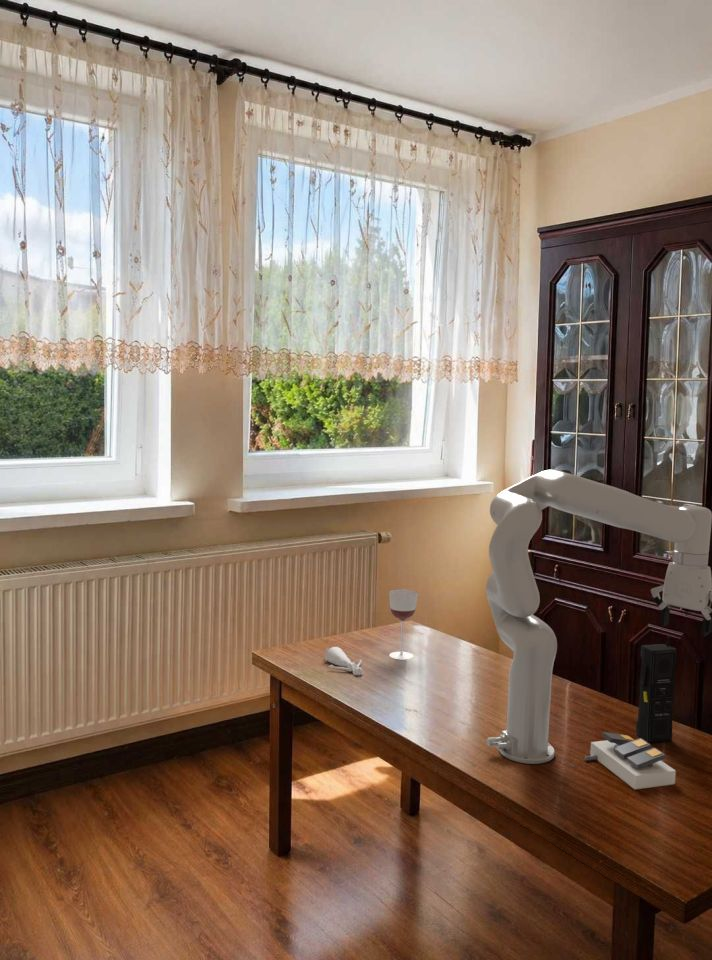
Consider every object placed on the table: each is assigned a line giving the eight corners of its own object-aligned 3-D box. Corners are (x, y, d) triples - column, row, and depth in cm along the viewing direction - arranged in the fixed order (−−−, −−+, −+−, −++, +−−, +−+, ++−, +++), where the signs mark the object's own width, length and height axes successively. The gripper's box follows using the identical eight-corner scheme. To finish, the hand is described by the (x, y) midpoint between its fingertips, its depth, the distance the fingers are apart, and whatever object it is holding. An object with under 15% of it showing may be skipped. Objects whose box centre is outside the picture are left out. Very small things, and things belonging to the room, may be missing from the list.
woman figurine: (346, 641, 258) (378, 662, 243) (345, 655, 259) (377, 677, 244) (313, 647, 252) (343, 669, 237) (312, 661, 252) (343, 683, 237)
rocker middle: (624, 762, 183) (623, 754, 183) (614, 755, 187) (613, 747, 186) (651, 752, 185) (650, 744, 185) (641, 745, 188) (640, 737, 188)
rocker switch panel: (622, 791, 176) (623, 777, 175) (578, 755, 192) (579, 743, 192) (674, 784, 180) (675, 770, 179) (627, 750, 196) (628, 737, 195)
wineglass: (385, 651, 262) (386, 589, 260) (411, 650, 264) (414, 589, 261) (390, 660, 254) (392, 596, 252) (418, 659, 256) (420, 595, 254)
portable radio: (645, 744, 199) (652, 643, 196) (630, 734, 205) (637, 635, 202) (673, 741, 201) (681, 641, 198) (658, 731, 207) (665, 633, 204)
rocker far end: (638, 772, 179) (637, 764, 178) (628, 764, 182) (627, 756, 182) (666, 762, 180) (664, 753, 180) (655, 754, 184) (654, 746, 183)
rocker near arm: (609, 745, 188) (611, 737, 188) (600, 739, 191) (602, 731, 191) (635, 749, 190) (637, 741, 190) (625, 742, 193) (627, 734, 193)
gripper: (648, 554, 198) (642, 625, 200) (722, 567, 186) (716, 642, 188) (661, 551, 204) (655, 619, 206) (734, 563, 192) (728, 635, 194)
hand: (684, 630), depth 197 cm, fingers open, 9 cm apart
